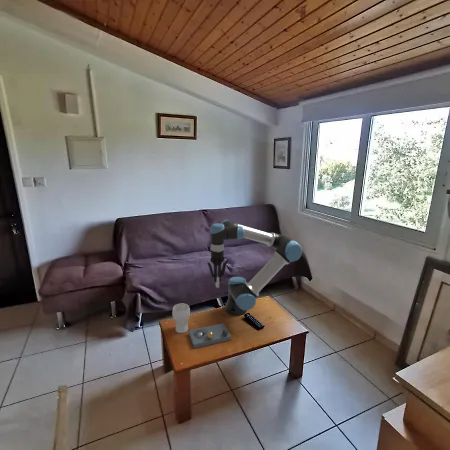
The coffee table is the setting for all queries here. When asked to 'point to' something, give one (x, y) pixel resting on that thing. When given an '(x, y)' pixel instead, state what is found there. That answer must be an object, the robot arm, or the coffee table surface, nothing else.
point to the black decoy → (224, 332)
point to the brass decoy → (210, 335)
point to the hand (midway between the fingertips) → (217, 286)
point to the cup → (181, 317)
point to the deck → (203, 340)
